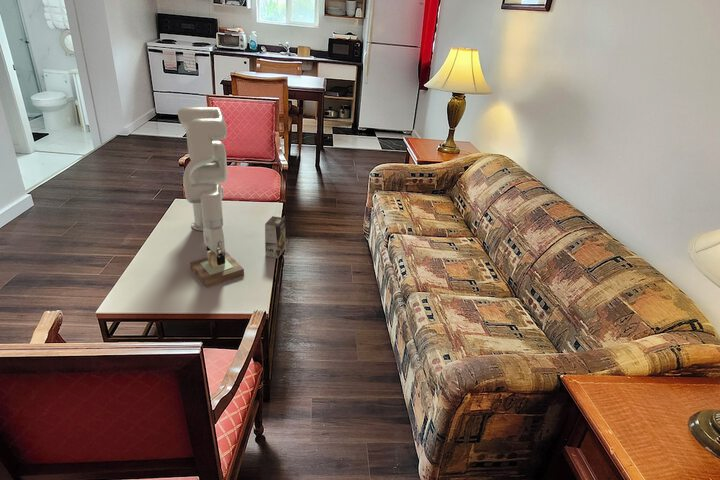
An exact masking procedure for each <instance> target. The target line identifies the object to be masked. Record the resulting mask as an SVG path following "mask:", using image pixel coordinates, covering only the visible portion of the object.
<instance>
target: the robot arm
mask: <svg viewBox="0 0 720 480" xmlns="http://www.w3.org/2000/svg"><path fill="white" fill-rule="evenodd" d="M177 116H178V118H177V119H178V121H179V122H180V124H181V126H182V127H183V128H184V130H185V134H186V135H185V136H186V142H187V153H188V157H189V159H190V161H189V162H188V164H187V166H186V167H185V168H184V172H183V176H182V180H183V188H184V189H183V190H184V195H185V199H186V201H187V202H188V203H189V204H192V209H193V217H194V218H193V219H194V220H193V221H192V222H191V228H192V229H193V230H196V231H199V232H202V233H203V236H202V237H203V243H204V245H205V246H206V247H205V248H206V252H207V251H210V250H211V251H213V252H215V251H216V253H217V265H222V264H225V252H227V250H226V248H225V246H226V245H225V237H224V230H223V226H224V216H223V214H224V213H223V204H222V202H223V201H222V200H223V197H224V195H225V191H224V187H223V186H222V184H223V183H225V182H226V181H227V179H228V164H227V150H226V146H225V144H224V143H223V142H222V141H221V140H225V139H226V138H227V136H228V128H227V123H226V119H225V117H224V115H223V111H222V110H221V108H219V107H214V106H185V107H181V108H179V109H178V110H177ZM218 248H219V249H218ZM220 250H221V253H220V254H219V252H218V251H220Z"/></svg>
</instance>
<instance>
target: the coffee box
mask: <svg viewBox="0 0 720 480" xmlns="http://www.w3.org/2000/svg"><path fill="white" fill-rule="evenodd" d="M264 244H265V246H264V249H265V250H264V251H265V257H270V258H274V259H279V258H280V257H281V255H282V254H283V252H284V251H285V250H286V217H280V216H271V217H270V218H269V219H268V220H267V221H266V223H265V224H264Z"/></svg>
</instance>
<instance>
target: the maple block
mask: <svg viewBox="0 0 720 480" xmlns="http://www.w3.org/2000/svg"><path fill="white" fill-rule="evenodd" d="M218 249H220V248H218ZM218 252H219V254H220V253H221V250H220V251H218ZM206 255H207V257H208V264H209V265H210V266H211V267H212V268H213V269H217V268H220V267H223V266H225V264H222V265H217V253H216V251H215V252H213V251H211V250H210V251H207V250H206Z"/></svg>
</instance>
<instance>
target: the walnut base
mask: <svg viewBox="0 0 720 480" xmlns="http://www.w3.org/2000/svg"><path fill="white" fill-rule="evenodd" d="M189 265H190V270H191V271H192V272H193V273H194V274H195V276H197V278H198V279H199V280H200V282H202V285H204V286H205V288H208V287H213V286H215V285H217V284H220V283H221V284H222V283H224V282H227V281H231V280H234V279H237V278H239V277H243V276H244V275H245V269H244V267H243V266H241V264H240V263H239V262H237V261H236V259H234V258H233V257H232V256H231V254H230V253H229V252H227V251H226V252H225V266H223V267H220V268H217V269H213V268H212V267H211V266H210V265H209V264H208V256H207V257H203V258H201V259H197V260H193V261H190V262H189Z"/></svg>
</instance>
